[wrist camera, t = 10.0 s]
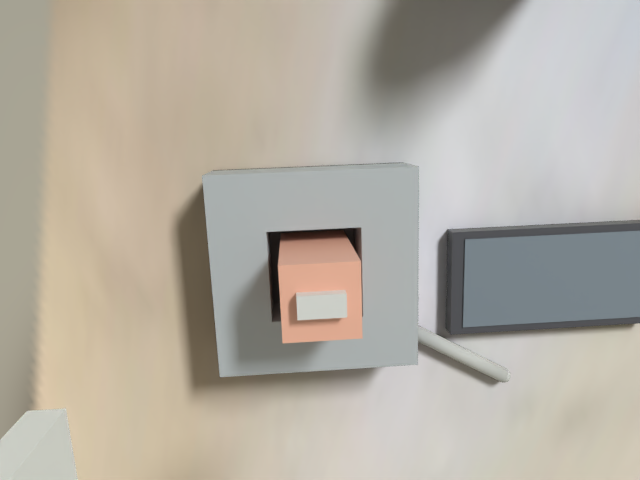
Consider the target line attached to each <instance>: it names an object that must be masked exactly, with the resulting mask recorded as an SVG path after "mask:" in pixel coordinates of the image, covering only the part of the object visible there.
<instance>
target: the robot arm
mask: <svg viewBox="0 0 640 480" xmlns="http://www.w3.org/2000/svg"><path fill="white" fill-rule="evenodd" d="M0 480H78V478H77V472H76V466H75V460H74V454H73V448H72V442H71V436H70V430H69V424H68V418H67V412H66V409H51V410H34V411H27V412H26V413H25V414H24V415H23V416H22V417H21V418H20V419H19V420H18V421H17V422H16V423H15V425H14V426H13V427H12V428H11V429H10V430H9V431H8V432H7V433H6V434H5V435H4V436H3V437H2V439H1V440H0Z"/></svg>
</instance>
